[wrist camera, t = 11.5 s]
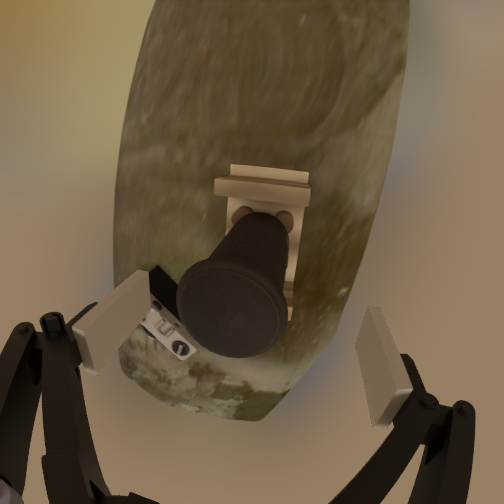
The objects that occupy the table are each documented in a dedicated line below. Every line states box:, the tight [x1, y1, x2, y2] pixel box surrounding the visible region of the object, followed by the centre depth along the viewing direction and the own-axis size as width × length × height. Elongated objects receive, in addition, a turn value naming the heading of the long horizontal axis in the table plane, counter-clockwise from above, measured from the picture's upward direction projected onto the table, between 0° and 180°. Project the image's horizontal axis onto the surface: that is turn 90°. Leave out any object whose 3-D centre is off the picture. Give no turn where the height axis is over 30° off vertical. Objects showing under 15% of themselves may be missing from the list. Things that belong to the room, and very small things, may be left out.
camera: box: [140, 265, 200, 360], centre depth 45 cm, size 14×9×10 cm, turn 36°
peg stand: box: [214, 164, 311, 320], centre depth 39 cm, size 20×11×9 cm, turn 174°
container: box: [176, 212, 289, 358], centre depth 30 cm, size 9×9×20 cm
